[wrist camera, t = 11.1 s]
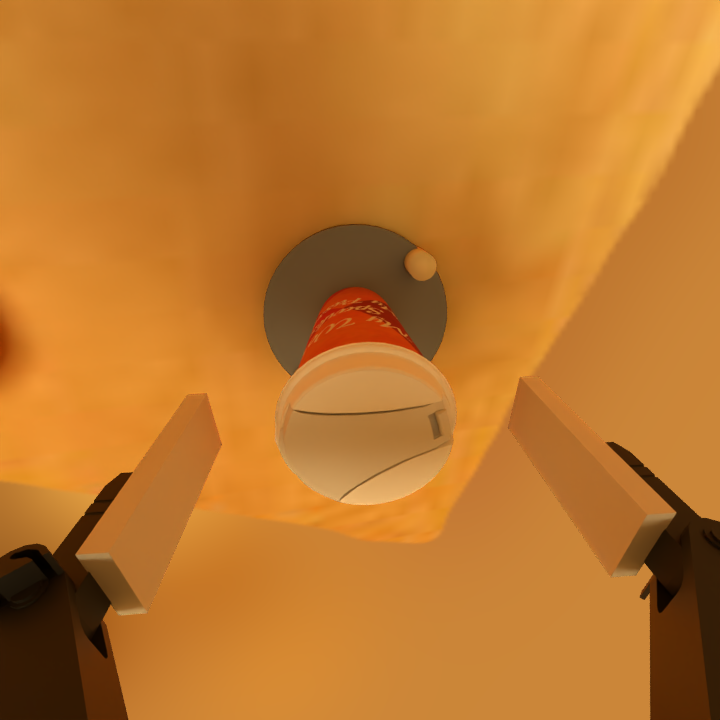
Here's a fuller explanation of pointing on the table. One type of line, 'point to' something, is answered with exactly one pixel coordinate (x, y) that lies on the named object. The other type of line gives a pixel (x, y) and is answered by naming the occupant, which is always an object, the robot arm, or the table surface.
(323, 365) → the paper cup
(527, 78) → the table surface
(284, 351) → the pad
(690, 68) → the table surface
